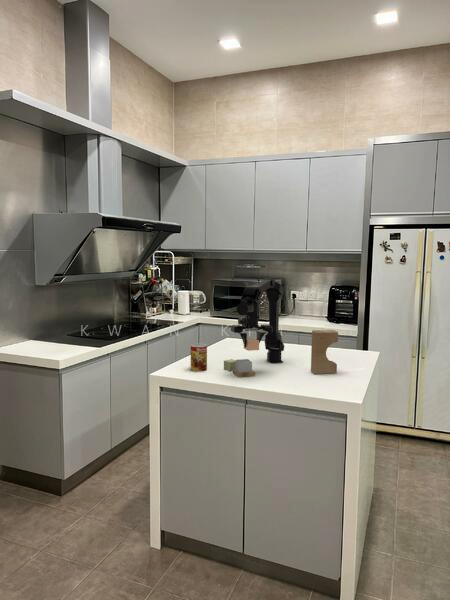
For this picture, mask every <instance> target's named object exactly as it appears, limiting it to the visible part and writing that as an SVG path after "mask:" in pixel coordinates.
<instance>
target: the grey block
mask: <svg viewBox="0 0 450 600" xmlns="http://www.w3.org/2000/svg"><path fill="white" fill-rule="evenodd" d="M235 360H236V370H237V371H238V372H239V373H240V372H252V370H253V361H252V360H250V359H248V358H245V359H244V358H241V359H235Z"/></svg>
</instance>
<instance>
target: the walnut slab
mask: <svg viewBox="0 0 450 600" xmlns="http://www.w3.org/2000/svg"><path fill="white" fill-rule="evenodd" d="M232 374H233V375H234V376H235V377H236V378H239V379H240V378H254V377H256V371H254V370H253V369H252V372H240V373H239V372H238V371H237V370H236V369H233V371H232Z"/></svg>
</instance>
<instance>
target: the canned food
mask: <svg viewBox="0 0 450 600" xmlns="http://www.w3.org/2000/svg"><path fill="white" fill-rule="evenodd" d="M190 371H192V372H196V373H199V372H200V373H201V372H206V371H208V344H205V343H202V342H201V343H192V344H190Z"/></svg>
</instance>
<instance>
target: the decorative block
mask: <svg viewBox="0 0 450 600" xmlns="http://www.w3.org/2000/svg"><path fill="white" fill-rule="evenodd" d="M338 342H339V332H338V330H334V329H319V330H318V329H317V330H316V329H314V330H312V332H311V348H310V349H311V351H310V352H311V354H310V355H311V356H310V357H311V358H310V372H311V373H312V374H314V375H331V374H332V375H334V374H337V373H338V369H337V368H338V364H337V362H335V361H333V360H329V358H328V357H327V350H328V348H329V347H330V346H331V345H332V344H333V343H338Z"/></svg>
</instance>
